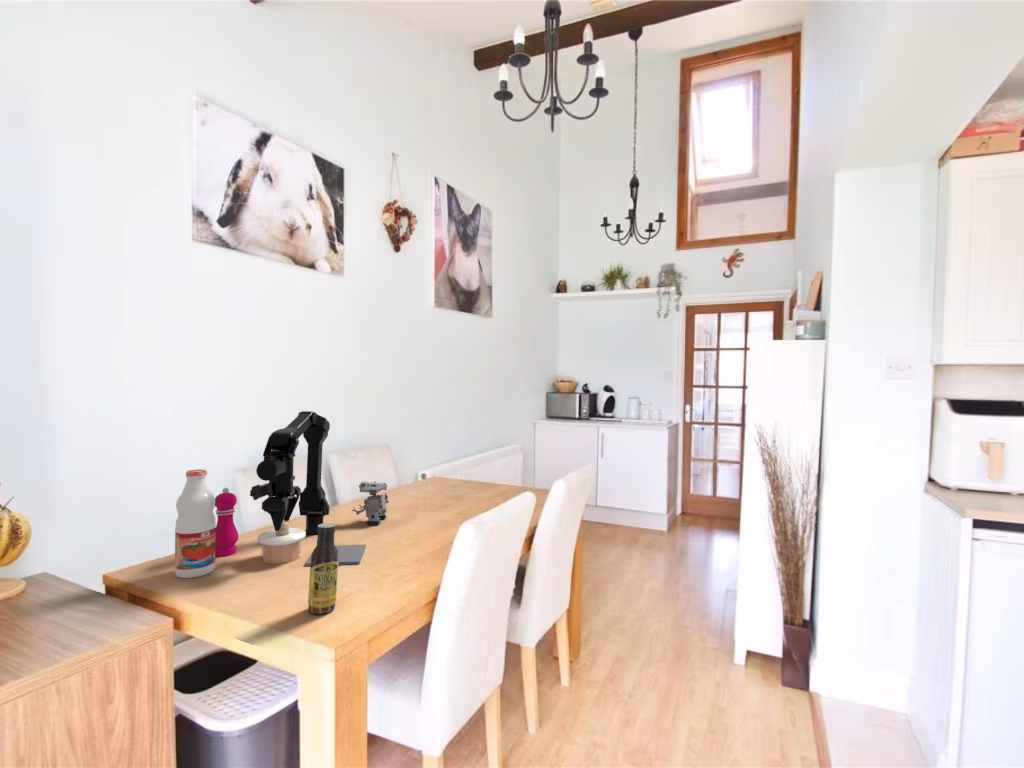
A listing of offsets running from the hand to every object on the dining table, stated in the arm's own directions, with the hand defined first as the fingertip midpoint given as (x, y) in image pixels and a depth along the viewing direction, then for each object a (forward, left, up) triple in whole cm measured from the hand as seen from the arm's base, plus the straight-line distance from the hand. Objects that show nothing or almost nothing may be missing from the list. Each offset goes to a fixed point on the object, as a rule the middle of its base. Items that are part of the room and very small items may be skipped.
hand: (282, 526), depth 151 cm
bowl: (0, 0, -10) cm, 10 cm away
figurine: (-36, +22, -10) cm, 43 cm away
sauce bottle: (+36, +19, -10) cm, 42 cm away
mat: (0, +16, -10) cm, 19 cm away
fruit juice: (+9, -20, -10) cm, 24 cm away
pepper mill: (-6, -18, -10) cm, 21 cm away
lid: (0, 0, -4) cm, 4 cm away
